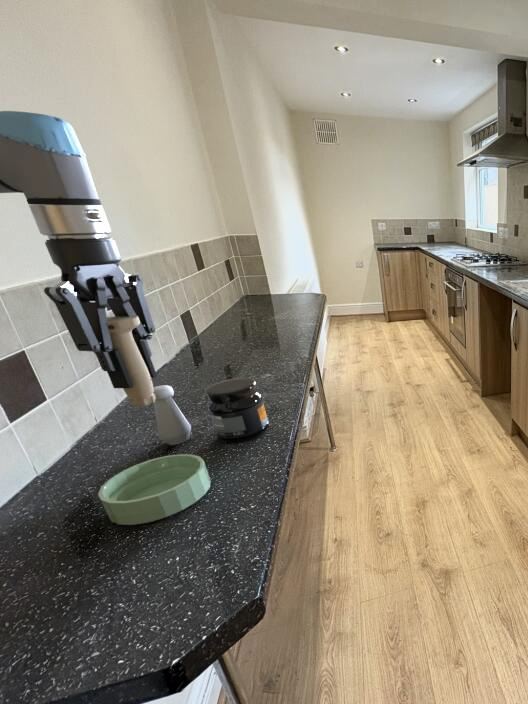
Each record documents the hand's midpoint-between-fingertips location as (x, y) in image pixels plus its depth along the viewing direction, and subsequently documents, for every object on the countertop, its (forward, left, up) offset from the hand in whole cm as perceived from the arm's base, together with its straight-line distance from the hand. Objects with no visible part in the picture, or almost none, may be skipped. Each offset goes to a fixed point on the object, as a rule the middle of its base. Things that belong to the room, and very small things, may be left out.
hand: (136, 381), depth 70 cm
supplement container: (+1, +19, -21) cm, 28 cm away
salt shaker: (-12, +15, -21) cm, 28 cm away
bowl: (+2, -5, -21) cm, 21 cm away
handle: (0, 0, -4) cm, 4 cm away
